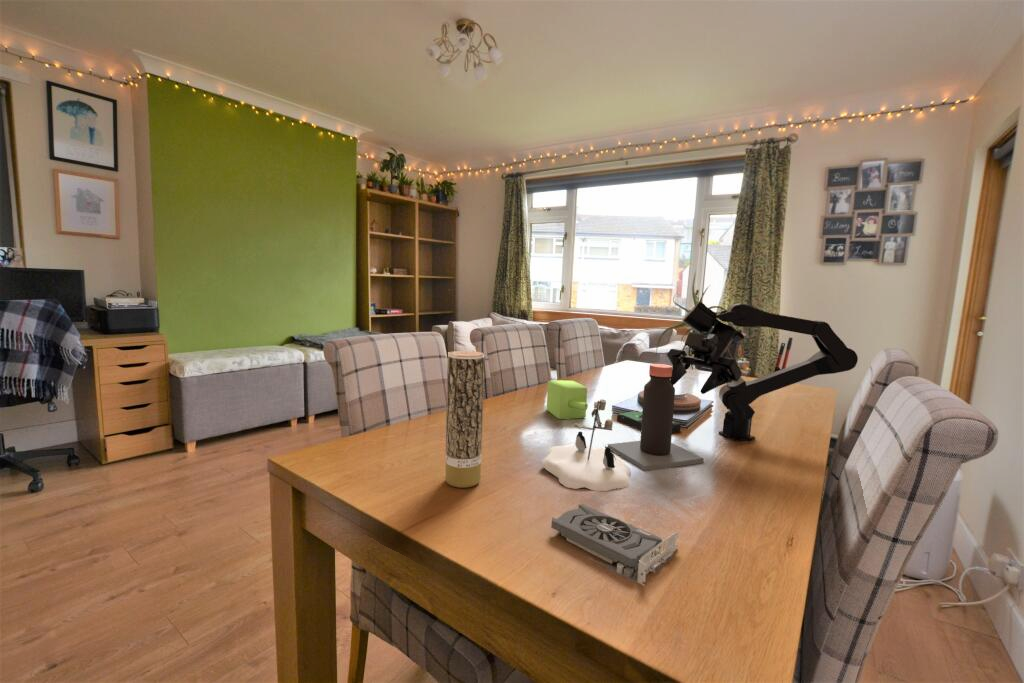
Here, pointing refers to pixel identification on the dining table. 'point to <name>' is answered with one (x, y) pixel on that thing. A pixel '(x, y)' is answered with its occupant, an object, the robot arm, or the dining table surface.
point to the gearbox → (566, 399)
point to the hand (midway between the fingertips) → (685, 388)
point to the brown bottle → (657, 411)
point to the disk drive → (640, 420)
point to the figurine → (588, 461)
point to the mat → (654, 456)
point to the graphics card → (615, 542)
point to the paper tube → (464, 418)
